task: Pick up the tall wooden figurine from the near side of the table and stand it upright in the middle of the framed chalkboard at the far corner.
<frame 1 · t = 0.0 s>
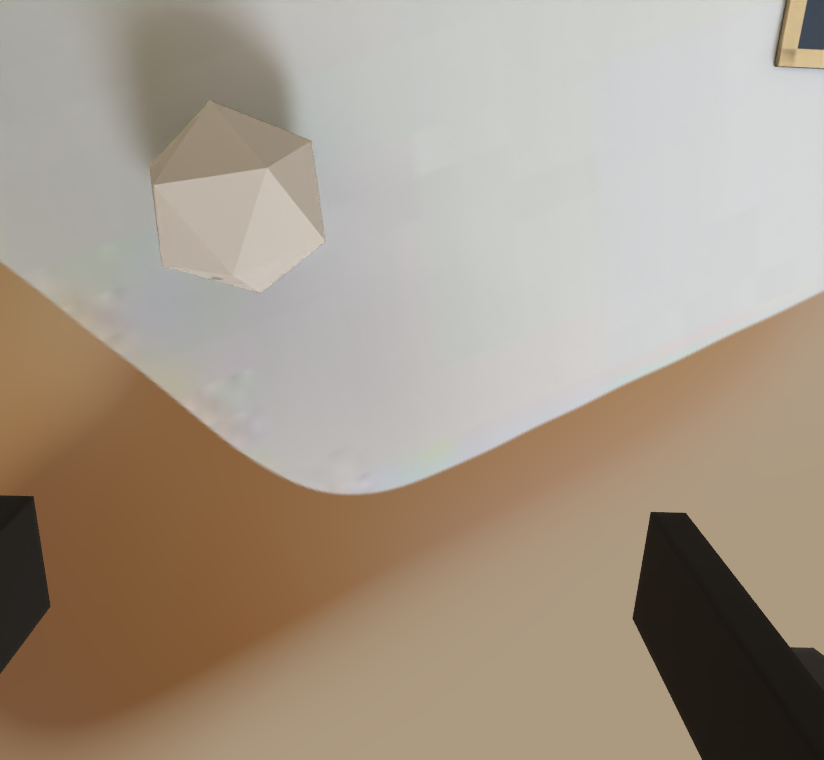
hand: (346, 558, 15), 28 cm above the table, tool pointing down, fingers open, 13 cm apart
die: (252, 197, 40), on the table
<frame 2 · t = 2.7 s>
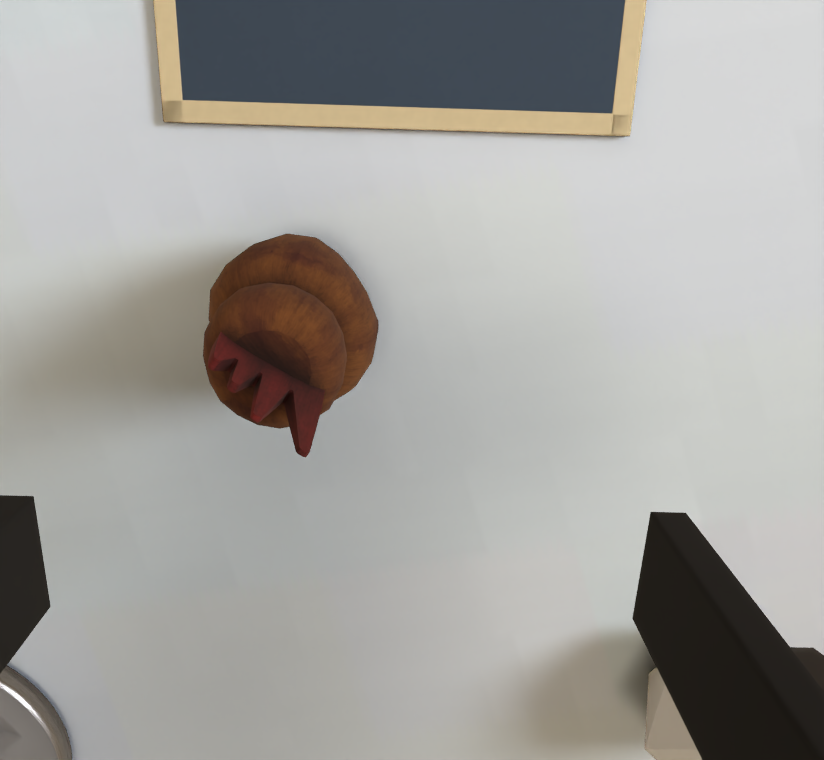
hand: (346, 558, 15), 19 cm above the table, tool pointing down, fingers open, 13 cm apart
wooden figurine: (310, 296, 33), on the table
die: (700, 664, 40), on the table
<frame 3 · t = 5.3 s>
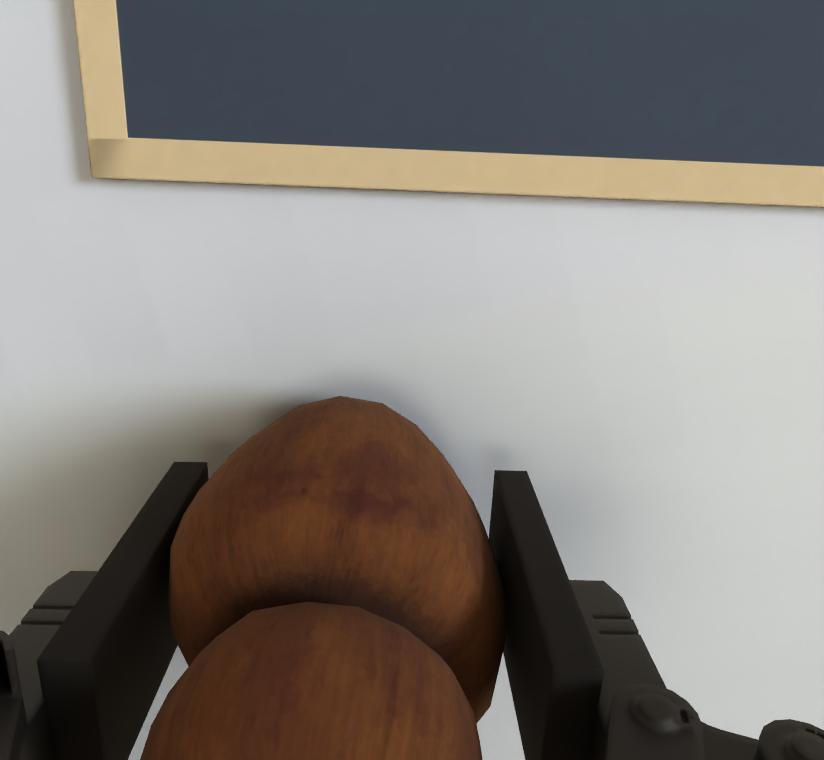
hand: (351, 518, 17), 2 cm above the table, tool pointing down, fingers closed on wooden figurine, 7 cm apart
wooden figurine: (357, 476, 19), on the table, touching gripper
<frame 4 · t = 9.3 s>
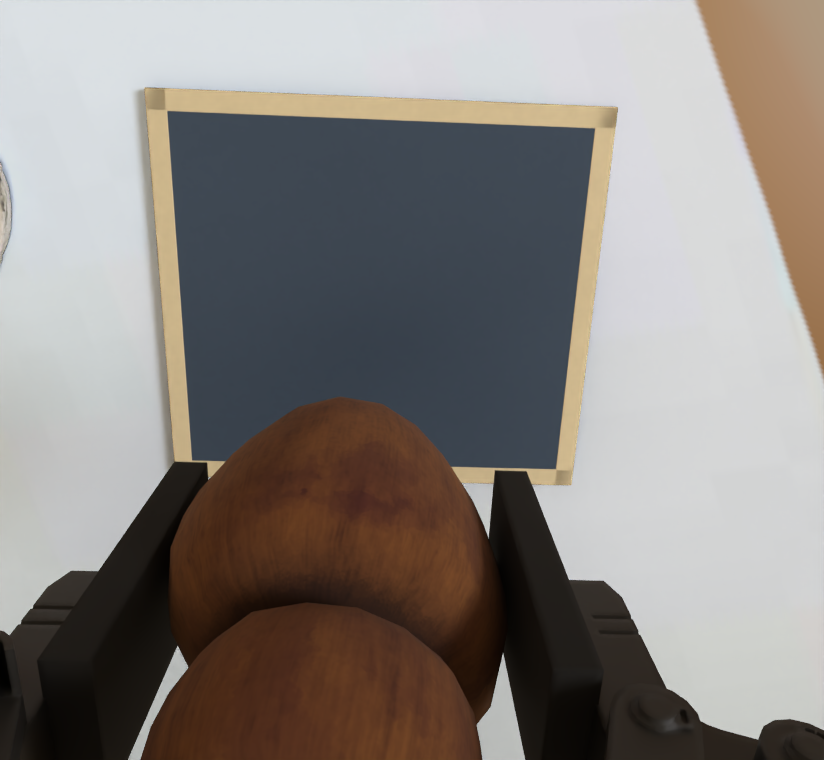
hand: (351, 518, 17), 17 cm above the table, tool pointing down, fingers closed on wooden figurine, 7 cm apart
wooden figurine: (357, 477, 19), point 15 cm above the table, touching gripper
framed chalkboard: (379, 304, 33), on the table
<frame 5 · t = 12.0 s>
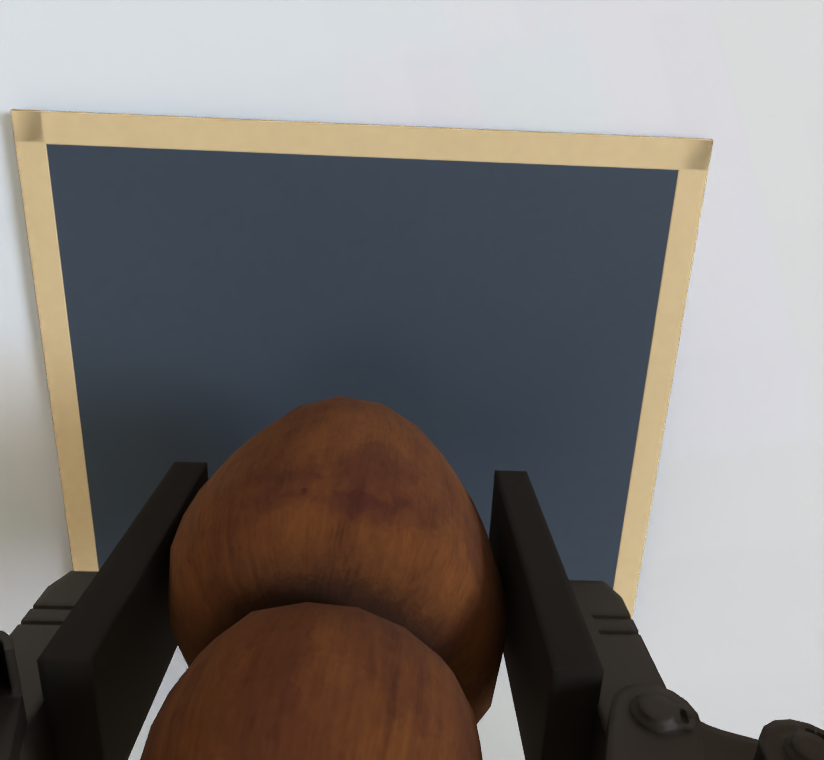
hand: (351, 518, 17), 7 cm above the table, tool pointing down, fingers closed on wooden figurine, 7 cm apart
wooden figurine: (357, 476, 19), point 5 cm above the table, touching gripper
framed chalkboard: (362, 413, 23), on the table
when the fingers open (2 cm above the table, at t = 13.7 s): wooden figurine stays where it is, resting on framed chalkboard.
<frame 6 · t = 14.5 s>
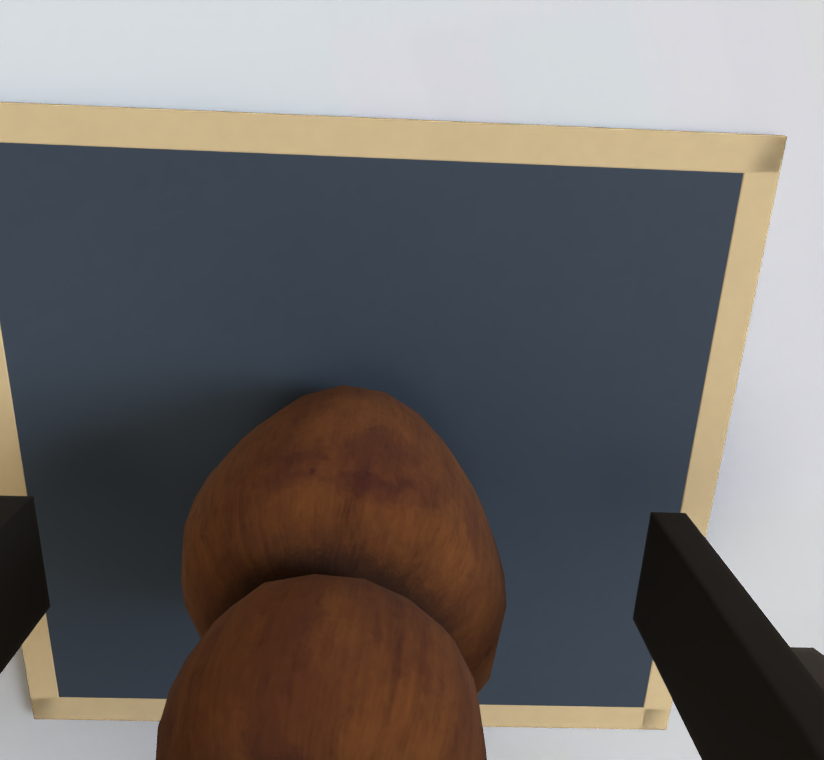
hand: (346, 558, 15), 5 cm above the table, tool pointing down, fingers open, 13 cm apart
wooden figurine: (361, 464, 19), resting on framed chalkboard
framed chalkboard: (359, 461, 19), on the table
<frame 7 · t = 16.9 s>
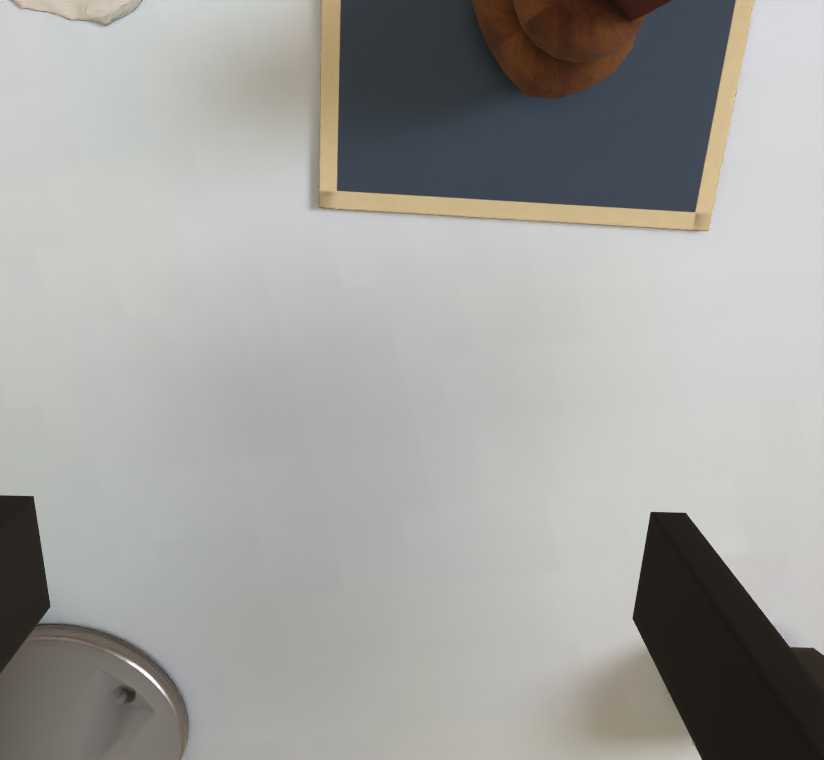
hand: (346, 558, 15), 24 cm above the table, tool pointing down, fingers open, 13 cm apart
wooden figurine: (536, 23, 33), resting on framed chalkboard
framed chalkboard: (534, 24, 33), on the table
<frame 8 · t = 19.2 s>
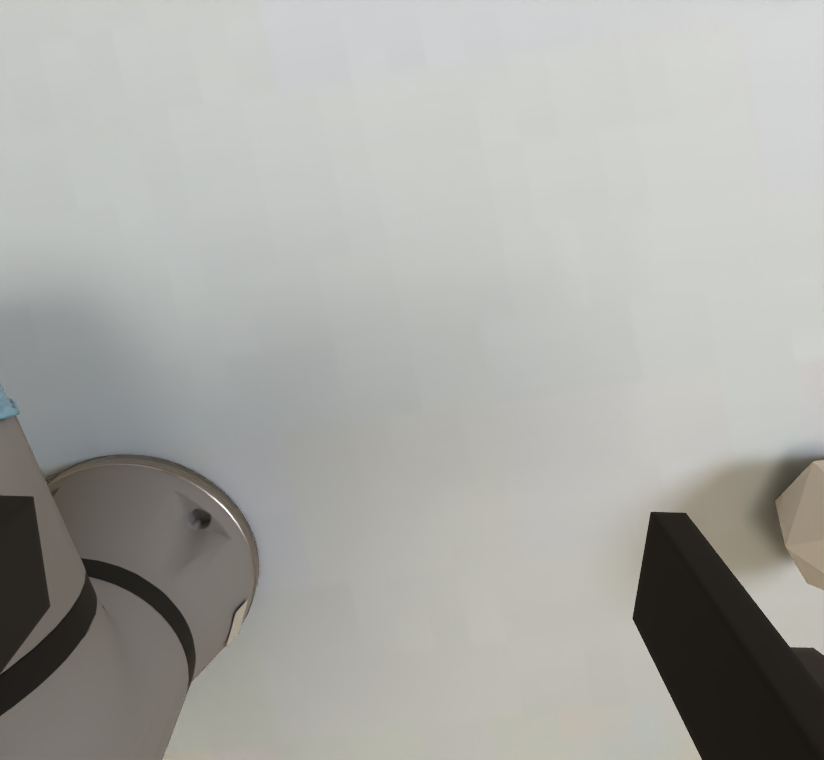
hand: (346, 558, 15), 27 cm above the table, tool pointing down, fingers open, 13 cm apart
die: (820, 493, 45), on the table
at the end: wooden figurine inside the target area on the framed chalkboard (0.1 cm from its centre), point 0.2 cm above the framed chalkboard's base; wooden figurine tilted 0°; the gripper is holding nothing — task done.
